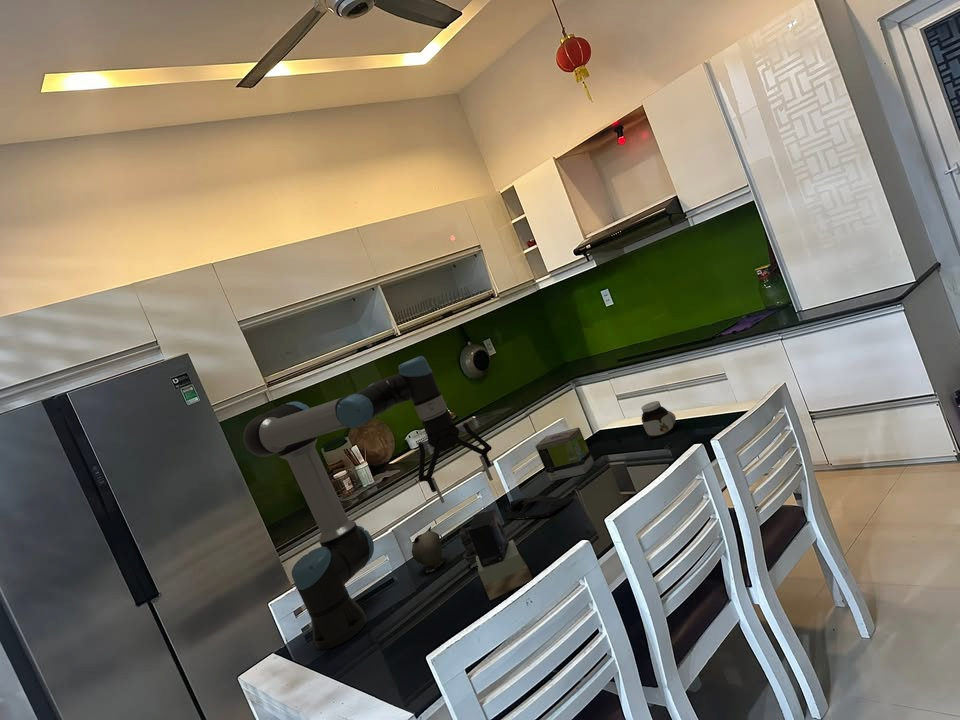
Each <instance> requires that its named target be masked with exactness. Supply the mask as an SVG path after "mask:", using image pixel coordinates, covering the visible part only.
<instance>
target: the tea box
mask: <svg viewBox="0 0 960 720" xmlns="http://www.w3.org/2000/svg"><path fill="white" fill-rule="evenodd" d="M534 447H535V449H536V451H537V453H538V456H539V458H540V460H541V463H542V465H543V467H544V469H545V472H546V475H547V477H548V479H549V481H550V482H554V481H557V480H562V479H567V478H572V477H577V476H580V475H581V476H582V475H585V474H587V472H588V471H589V470H590V469H591V468H592V467H593V466H594V464H595V462H594V458H593V456H592V454H591V452H590V450H589V448H588V444H587V442H586V439H585V437H584V435H583V433H582V430H581V428H580V427H575V428H572V429H571V428H570V429H568V430H567V429H566V430H563V431H560V432H557V433H553V434H550V435H546V436H544V437H543V438H542V439H541V440H540V441H539V442H537V444H536V445H535V446H534Z"/></svg>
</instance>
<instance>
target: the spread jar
mask: <svg viewBox="0 0 960 720" xmlns="http://www.w3.org/2000/svg"><path fill="white" fill-rule="evenodd" d="M640 409H641V410H642V414H641V423H642V426H643V428H644V430H645V432H646V434H647V435H648V436H649V437H651V438H654V439H657V438H658V439H659V438H663V437H665V436H667V435H669V434H670V433H671V432H672V431H673V429H674V425H675V424H676V418H677V417H676V414H674V413H673V412H672V411H671V410H668V409H667V408H665V407H663V406H661V402H660V401H659V400H654V401H651V402H648V403H645V404H644V405H642V406H641V408H640Z"/></svg>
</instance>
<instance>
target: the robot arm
mask: <svg viewBox="0 0 960 720" xmlns="http://www.w3.org/2000/svg"><path fill="white" fill-rule="evenodd" d="M397 367H398V371H399V372H398V373H396V374H394V375H391V376H387V377H385V378H382V379H378V380H376V381H374V382H372V383H371V384H369V385H368V386H367V387H365V388H363V389H361V390H359V391H357V392H354V393H352V394H348V395H346V396H343V397H340V398H337V399H333V400H331V401H327V402H325V403H322V404H319V405H316V406H312V407H310V406H309V405H307V404H305V403H302V402H300V401H289V402H287V403H285V404H281V405H280V406H277V407H275V408H273V409H271V410H269V411H267V412H265V413H263V414H260V415H257V416H255V417H254V418H252V419H251V420H250V421H249V422H248V423H247V425H246V426H245V427H244V431H243V434H242V435H243V436H242V438H243V439H242V440H243V444H244V446H245V448H246V449H247V451H248V452H249V453H251V454H252V455H254V456H256V457H261V458H264V457H270V456H274V455H278V457H279V458H281V459H283V460H286V461H287V462H288V465H289V467H290V470H291V471H292V473H293V475H294V478H295V479H296V482H297V484H298V486H299V488H300V490H301V492H302V495H303V497H304V499H305V501H306V504H307V506H308V508H309V509H310V512H311V514H312V516H313V518H314V520H315V523H316V525H317V527H318V530H319V531H320V536H319V539H318V542H319V544H320V547H316V548H314V549H312V550H310V551H309V552H308V553H306V554H304V555H302V557H300V558H299V559H298V561H296V563H295V564H294V565H293V567H292V568H291V569H292V570H291V577H292V580H293V584H294V586H295V588H296V589H297V591H298V593H299V596H300V598H301V600H302V602H303V604H304V606H305V608H306V611H307V613H308V614H309V618H310V619H311V620H310V621H311V629H312V639H313V642H314V644H315V647H316V648H317V649H318V650H321V651H324V650H330V649H333V648H335V647H337V646H340V645H341V644H344V643H346V642H347V641H349V640H351V639H352V638H353V637H355V636H356V635H357V634H358V633H359V632H360V631H362V629H363V628H364V627H365V626H366V624H367V621H368V617H367V615H366V613H365V611H364V609H362V607H361V606H359V604H358V603H357V602H356V601H355V600H354V599H353V598H352V597H351V595H350V594H349V592H348V589H347V587H346V584H347V583H348V582H349V581H350V580H351V579H352V578H353V577H354V576H355V575H356V574H357V573H358V572H360V571H361V570H362V569H363V568H365V567H366V565H367V564H368V563H369V562H370V561H371V559H372V557H373V554H374V552H375V551H374V550H375V545H374V540H373V538H372V535H371V534H370V533H369V531H368V530H367V529H365V528H364V527H363V526H361V525H357V522H356V521H354V520H352V519H349V518H348V515H347V513H346V512H345V510H344V507H343V504H342V503H341V501H340V498H339V496H338V494H337V492H336V490H335V488H334V485H333V483H332V481H331V479H330V477H329V475H328V473H327V470H326V468H325V466H324V463H323V462H322V459H321V457H320V455H319V453H318V450H317V449H316V444H317V442H318V438H317V437H320V436H323V435H327V434H330V433H333V432H335V431H340V430H342V429H346V428H349V429H350V428H351V429H355V428H359V427H361V426H363V425H366V424H367V423H368V422H369V421H371V420H372V419H375V417H378V416H379V415H381V414H383V413H385V412H386V411H388V410H390V409H391V408H393V407H396V406H397V405H399V404H403V403H404V402H407V401H410V400H411V401H412V403H413V406H414V409H415V411H416V413H417V415H418V418H419V419H420V420H421V424H422V426H423V429H424V430H425V433H426V436H427V439H426V440H424V441H419V442H417V446H418V450H419V461H418V477H417V478H418V481H419V483H422V482H426V483H427V484H428V486H429V488H430V491H431V492H432V493H435V492H436V494H437V495H438V498H439V500H440V502H441V504H444V503H445V500H444V499H445V498H443V495H442V493H441V491H440V488H439V486H438V484H437V481H436V479H435V477H434V476H433V475H434V472H435V468H436V465H437V461H438V459H439V456H440V452H446V451H447V450H449V449H453V448H454V447H456V445H457V444H458V445H460V446H462V447H464V448H466V449H469V450H471V451H473V452H474V453H477V454H479V455H478V457H479V459H480V462H481V464H482V467H483V469H484V471H485V474H486V475H487V478H488V480H489V481H493V480H494V479H493V476H492V474H491V472H490V469H489V467H491V466H492V463H491V460H490V459H489V456H488V453H489V452H490V451H491V450H492V448H493V447H492V446H491V445H490V444H489V443H488V442H486V441H485V439H483V438H482V437H480V436H479V435H478V434H477V433H475V431H474V430H472V429H471V427H470V425H469V423H467V422H466V421H463V422H462V423H461V424H460V425H458V426H456V424H455V422H454V419H453V418H452V416H451V414H450V411H449V410H447V409H448V407H447V403H446V401H445V399H444V397H443V395H442V392H441V391H440V388H439V386H438V384H437V381H436V379H435V376H434V373H433V370H432V368H431V366H430V365H429V363H428V360H427V359H426V357H424V356H423V355H421V356H416V357H415V358H412V359H409V360H407V361H405V362H403V363H401V364H399V365H398V366H397ZM460 431H462V432H463V433H467V434H468V435H469V436H470V437H472V438H473V439H474V440H475V441H476V442H478V443H479V444H480V445H481V446H482V447H484V448H481V447H478V446H477V445H475V444H473V443H471V442H468V441H466V440H464V439H462V438H460V437H459V436H460ZM428 446H431V447H433V451H432V455H431V458H430V461H429V465H428V468H427V472H426V474H425V465H426V464H425V463H426V451H427V450H428Z"/></svg>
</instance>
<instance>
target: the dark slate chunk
mask: <svg viewBox="0 0 960 720" xmlns="http://www.w3.org/2000/svg"><path fill="white" fill-rule="evenodd" d="M573 501H574V498H573V497H564V498H563V497H556V496H549V495H548V496H547V495H545V496H544V495H536V496H530V497H522V498H518V499H515V500H511V501H510V503H509V505H510V511H511V514H510V515H509V516H507V517H506V519H507V518H526V517H542V516H548V517H550V516H552V515H553V514H555V513H556V512H557V511H560V510H562V509H563V508H564V507H566V506H568V505H569V504H571V503H572V502H573ZM520 511H521V513H519V512H520ZM517 513H519V514H518V515H516V514H517ZM515 515H516V516H515ZM542 518H543V517H542Z"/></svg>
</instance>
